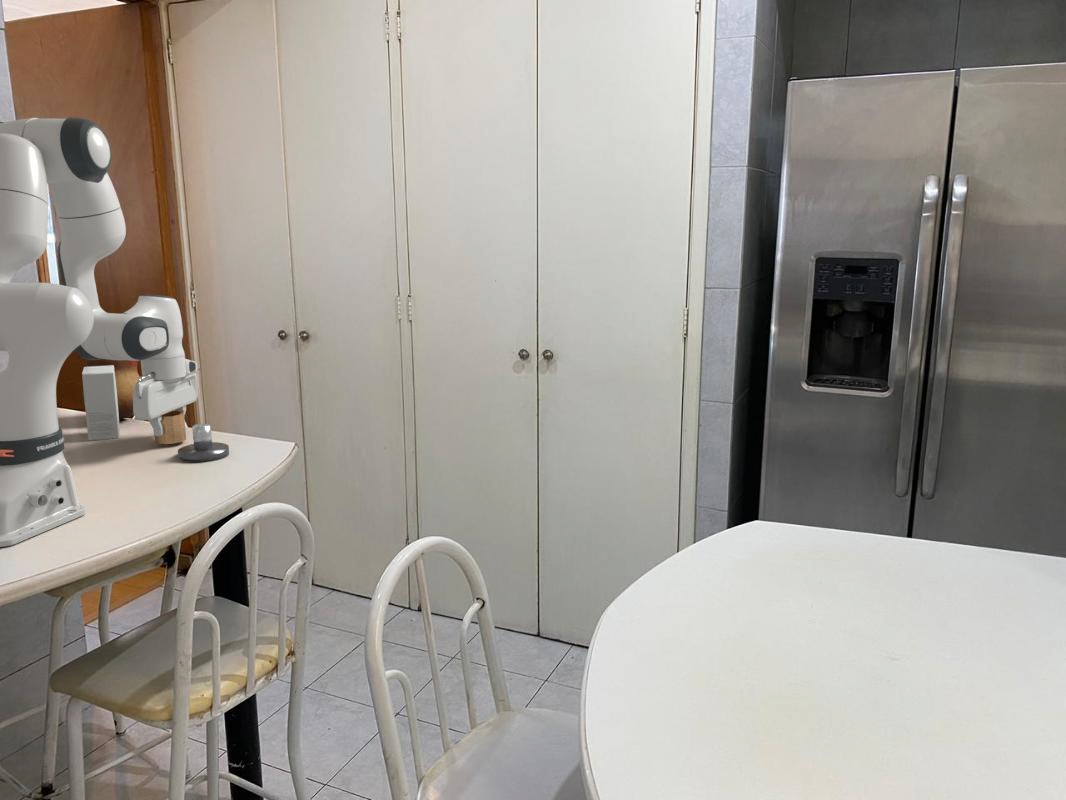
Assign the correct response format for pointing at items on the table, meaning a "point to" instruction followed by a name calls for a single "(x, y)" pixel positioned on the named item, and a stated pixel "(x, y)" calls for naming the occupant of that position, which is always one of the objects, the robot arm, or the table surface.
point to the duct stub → (203, 446)
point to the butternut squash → (121, 382)
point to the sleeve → (172, 428)
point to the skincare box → (101, 402)
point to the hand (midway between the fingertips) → (169, 430)
